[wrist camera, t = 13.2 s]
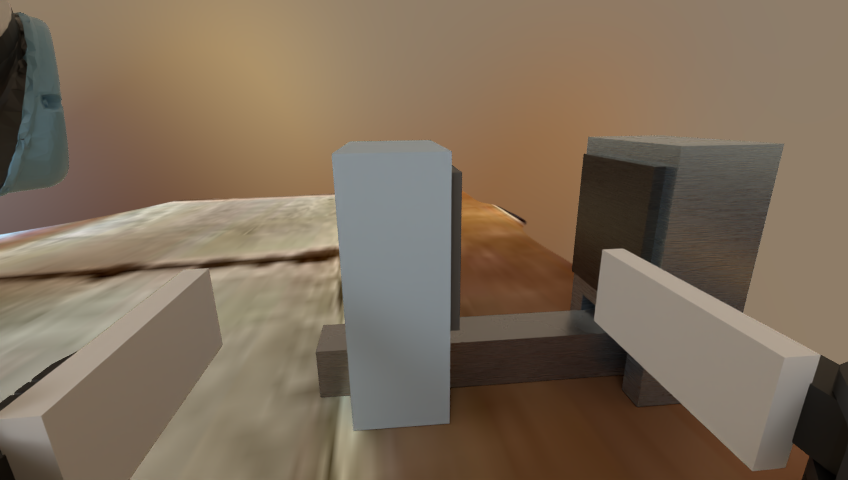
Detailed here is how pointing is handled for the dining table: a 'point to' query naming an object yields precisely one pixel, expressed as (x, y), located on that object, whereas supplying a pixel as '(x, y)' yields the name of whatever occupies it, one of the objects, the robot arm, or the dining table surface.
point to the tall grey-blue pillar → (399, 278)
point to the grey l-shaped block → (619, 229)
